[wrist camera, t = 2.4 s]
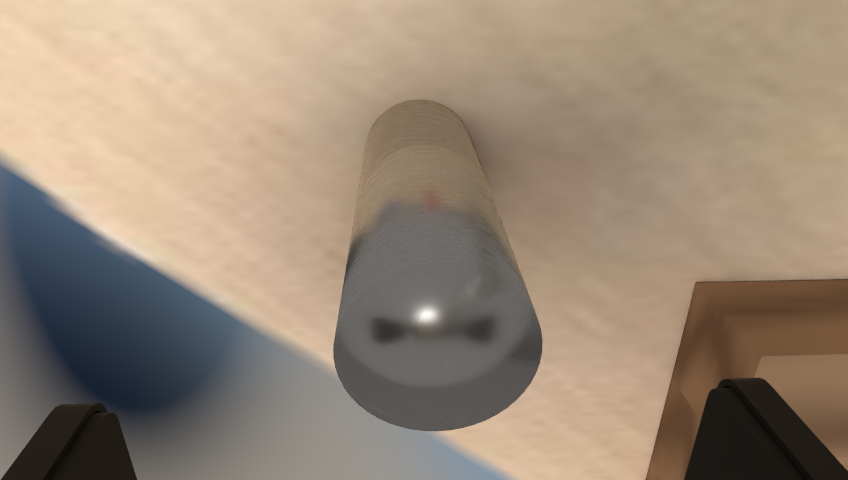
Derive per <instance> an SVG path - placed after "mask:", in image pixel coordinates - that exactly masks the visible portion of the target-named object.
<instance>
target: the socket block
mask: <svg viewBox="0 0 848 480" xmlns="http://www.w3.org/2000/svg"><path fill="white" fill-rule="evenodd" d="M758 377H759V378H762V379H764V380H766V381H767V382H768V383H769V384H770V385H771V386H772V387H773V388H774V389H775V390H776V392H777V393H778V394H779V395H780V396H781V397H782V398H783V399H784V401H785V402H786V403H787V404H788V405H789V406H790V407H791V408H792V409H793V411H794V412H795V413H796V414H797V415H798V416H799V417H800V418H801V419H802V421H803V422H804V423H805V424H806V425H807V426H808V427H809V428H810V430H811V431H812V432H813V433H814V434H815V435H816V436H817V437H818V438H819V440H820V441H821V442H822V443H823V444H824V445H825V446H826V447H827V448H828V450H829V451H830V452H831V453H832V454H833V455H834V456H835V457H836V459H837V460H838V461H839V462H840V463H841V464H842V465H843V466H844V467H845V469H846V470H847V471H848V280H802V281H753V282H704V283H696V286H695V290H694V294H693V298H692V302H691V306H690V310H689V313H688V317H687V321H686V325H685V329H684V333H683V337H682V341H681V345H680V349H679V353H678V357H677V361H676V364H675V368H674V372H673V376H672V380H671V384H670V388H669V392H668V396H667V400H666V404H665V408H664V412H663V415H662V419H661V423H660V427H659V431H658V435H657V439H656V443H655V447H654V451H653V455H652V459H651V463H650V466H649V470H648V474H647V478H646V480H684V478H685V474H686V471H687V467H688V464H689V460H690V457H691V453H692V450H693V446H694V443H695V439H696V435H697V432H698V428H699V425H700V421H701V418H702V414H703V411H704V407H705V404H706V400H707V396H708V394H709V392H710V390H712V389H715V388H717V386H718V384H719V382H720V381H721V380H723V379H733V378H758Z"/></svg>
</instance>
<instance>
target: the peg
mask: <svg viewBox="0 0 848 480" xmlns="http://www.w3.org/2000/svg"><path fill="white" fill-rule="evenodd" d="M541 354H542V334H541V328H540V325H539V322H538V318H537V316H536V313H535V310H534V308H533V305H532V302H531V300H530V297H529V294H528V292H527V289H526V286H525V284H524V281H523V278H522V276H521V273H520V270H519V267H518V265H517V262H516V259H515V257H514V254H513V251H512V249H511V246H510V243H509V241H508V238H507V235H506V233H505V230H504V227H503V225H502V222H501V219H500V216H499V214H498V211H497V208H496V206H495V203H494V200H493V198H492V195H491V192H490V190H489V187H488V184H487V182H486V179H485V176H484V174H483V171H482V168H481V165H480V163H479V160H478V157H477V155H476V152H475V149H474V147H473V144H472V141H471V139H470V136H469V133H468V131H467V129H466V127H465V125H464V124H463V122H462V121H461V119H460V118H459V117H458V116H457V115H456V114H455V113H454V112H452V111H451V110H450V109H448V108H447V107H445V106H443V105H441V104H438V103H435V102H431V101H426V100H413V101H407V102H403V103H400V104H397V105H396V106H394V107H392V108H390V109H389V110H387V111H386V112H384V113H383V114H382V115H381V116H380V117H379V118H378V119H377V121H376V122H375V123H374V125H373V127H372V128H371V131H370V133H369V135H368V139H367V144H366V150H365V156H364V162H363V168H362V174H361V180H360V186H359V193H358V199H357V205H356V211H355V217H354V223H353V229H352V235H351V242H350V248H349V254H348V260H347V266H346V272H345V278H344V284H343V291H342V297H341V303H340V309H339V315H338V321H337V327H336V333H335V340H334V362H335V368H336V370H337V373H338V376H339V379H340V381H341V382H342V384H343V386H344V388H345V389H346V390H347V392H348V393H349V395H350V396H351V397H352V398H353V399H354V400H355V401H356V402H357V403H358V404H359V405H360V406H361V407H363V408H364V409H365V410H366V411H367V412H369V413H371V414H372V415H374V416H376V417H377V418H379V419H382V420H384V421H386V422H388V423H391V424H394V425H397V426H400V427H404V428H408V429H414V430H422V431H445V430H453V429H459V428H464V427H467V426H471V425H474V424H477V423H480V422H482V421H485V420H487V419H489V418H491V417H493V416H495V415H497V414H498V413H500V412H501V411H503V410H504V409H506V408H507V407H509V406H510V405H511V404H512V403H513V402H515V401H516V400H517V399H518V398H519V397H520V396H521V394H522V393H523V392H524V391H525V390H526V388H527V387H528V386H529V384H530V383H531V381H532V379H533V377H534V376H535V374H536V371H537V369H538V366H539V363H540V359H541Z"/></svg>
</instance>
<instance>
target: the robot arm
mask: <svg viewBox="0 0 848 480" xmlns="http://www.w3.org/2000/svg"><path fill="white" fill-rule="evenodd" d="M1 480H137V478H136V475H135V472H134V468H133V465H132V462H131V459H130V456H129V452H128V449H127V446H126V443H125V440H124V436H123V433H122V430H121V427H120V423H119V420H118V418H117V416H116V414H114V413H108V412H107V410H106V408H105V407H104V406H103V405H102V404H99V403H93V404H67V405H59V406H57V407H55V409H54V410H53V411H52V412H51V413H50V414H49V415H48V417H47V418H46V419H45V421H44V422H43V423H42V425H41V426H40V428H39V429H38V430H37V432H36V433H35V434H34V436H33V437H32V438H31V440H30V441H29V442H28V444H27V445H26V446H25V448H24V449H23V450H22V452H21V453H20V455H19V456H18V457H17V459H16V460H15V461H14V463H13V464H12V465H11V467H10V468H9V469H8V471H7V472H6V473H5V475H4V476H3V478H2V479H1ZM684 480H848V471H847V470H846V469H845V467H844V466H843V465H842V464H841V463H840V462H839V461H838V460H837V459H836V457H835V456H834V455H833V454H832V453H831V452H830V451H829V450H828V448H827V447H826V446H825V445H824V444H823V443H822V442H821V441H820V440H819V438H818V437H817V436H816V435H815V434H814V433H813V432H812V431H811V430H810V428H809V427H808V426H807V425H806V424H805V423H804V422H803V421H802V419H801V418H800V417H799V416H798V415H797V414H796V413H795V412H794V411H793V409H792V408H791V407H790V406H789V405H788V404H787V403H786V402H785V401H784V399H783V398H782V397H781V396H780V395H779V394H778V393H777V392H776V390H775V389H774V388H773V387H772V386H771V385H770V384H769V383H768V382H767V381H766V380H764V379H762V378H759V377H758V378H733V379H723V380H721V381H720V382H719V384H718V386H717V388H715V389H712V390H710V392H709V394H708V396H707V400H706V404H705V407H704V411H703V414H702V418H701V421H700V425H699V428H698V432H697V435H696V439H695V443H694V446H693V450H692V453H691V457H690V460H689V464H688V467H687V471H686V474H685V478H684Z"/></svg>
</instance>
